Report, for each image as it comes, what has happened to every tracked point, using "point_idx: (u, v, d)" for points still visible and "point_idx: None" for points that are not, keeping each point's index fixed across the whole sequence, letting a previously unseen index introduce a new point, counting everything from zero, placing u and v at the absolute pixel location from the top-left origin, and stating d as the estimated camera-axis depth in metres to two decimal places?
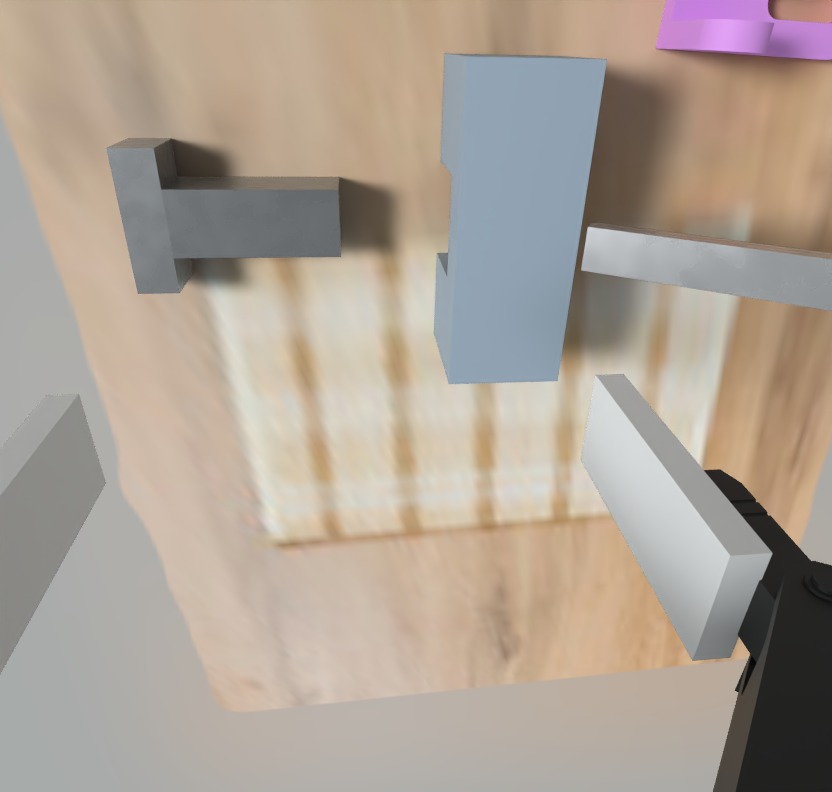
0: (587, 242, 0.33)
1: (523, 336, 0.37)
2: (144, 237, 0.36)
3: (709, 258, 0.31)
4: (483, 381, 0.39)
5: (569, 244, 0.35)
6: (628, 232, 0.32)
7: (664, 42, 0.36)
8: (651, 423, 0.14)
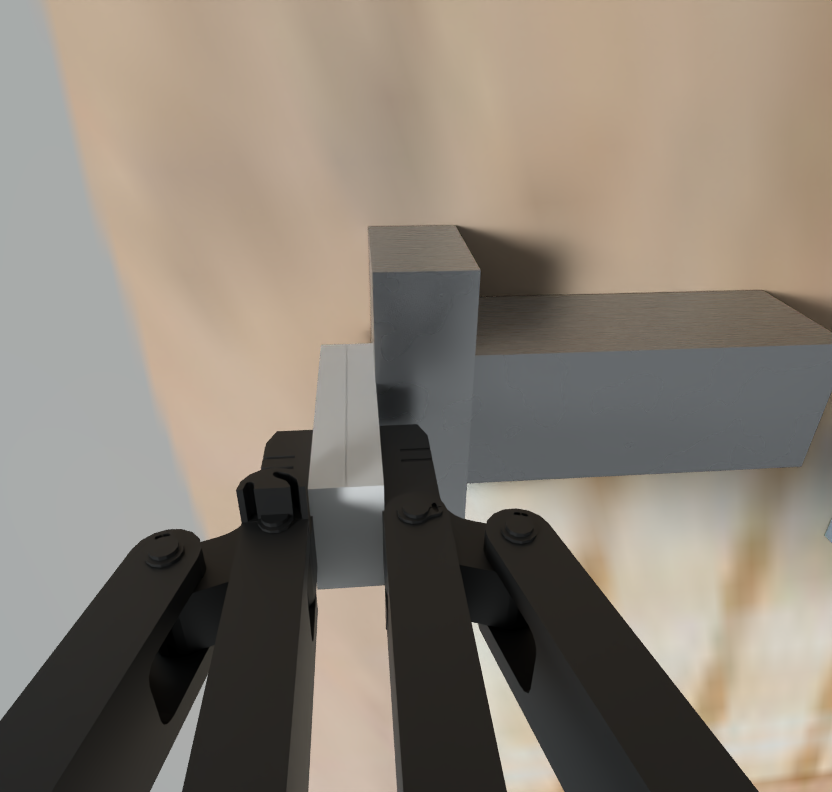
0: None
1: None
2: None
3: None
4: None
5: None
6: None
7: None
8: (363, 383, 0.15)
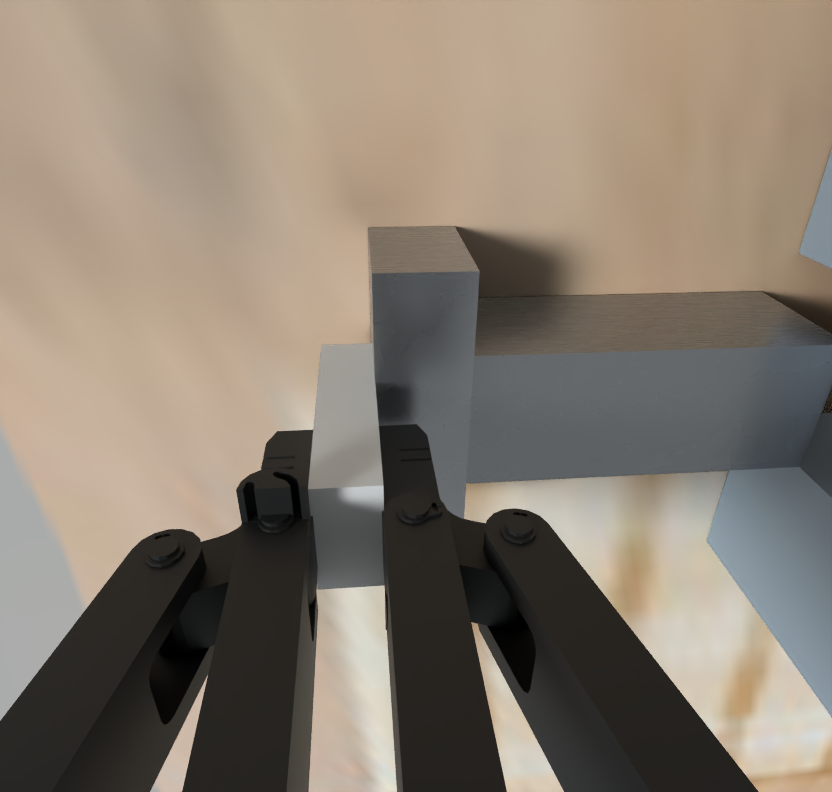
0: None
1: None
2: None
3: None
4: None
5: None
6: None
7: None
8: (363, 383, 0.15)
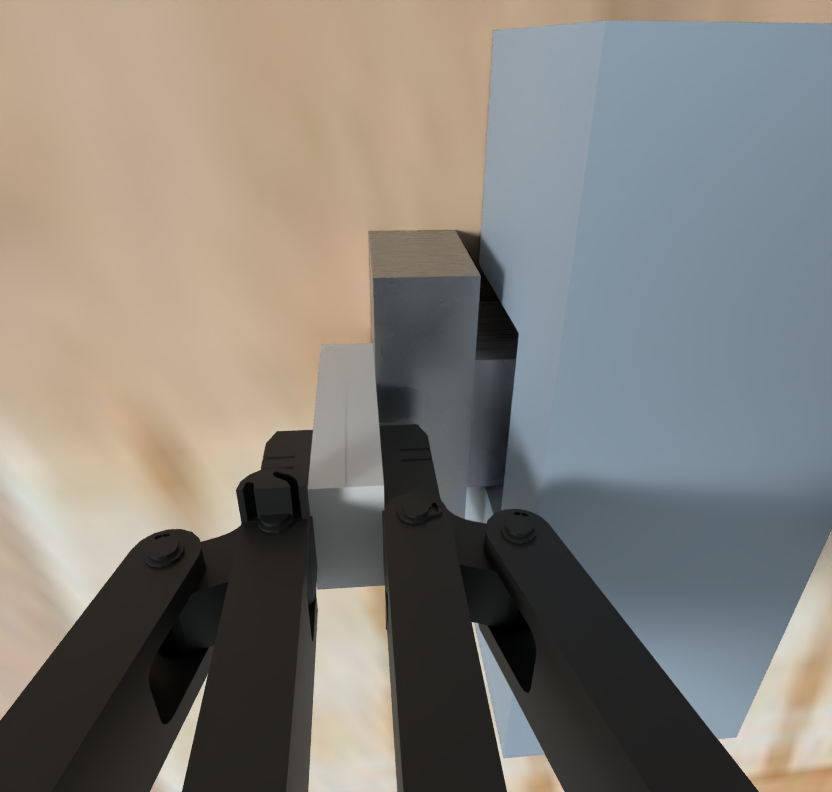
0: None
1: (676, 674, 0.16)
2: None
3: None
4: None
5: (818, 507, 0.14)
6: None
7: None
8: (363, 383, 0.15)
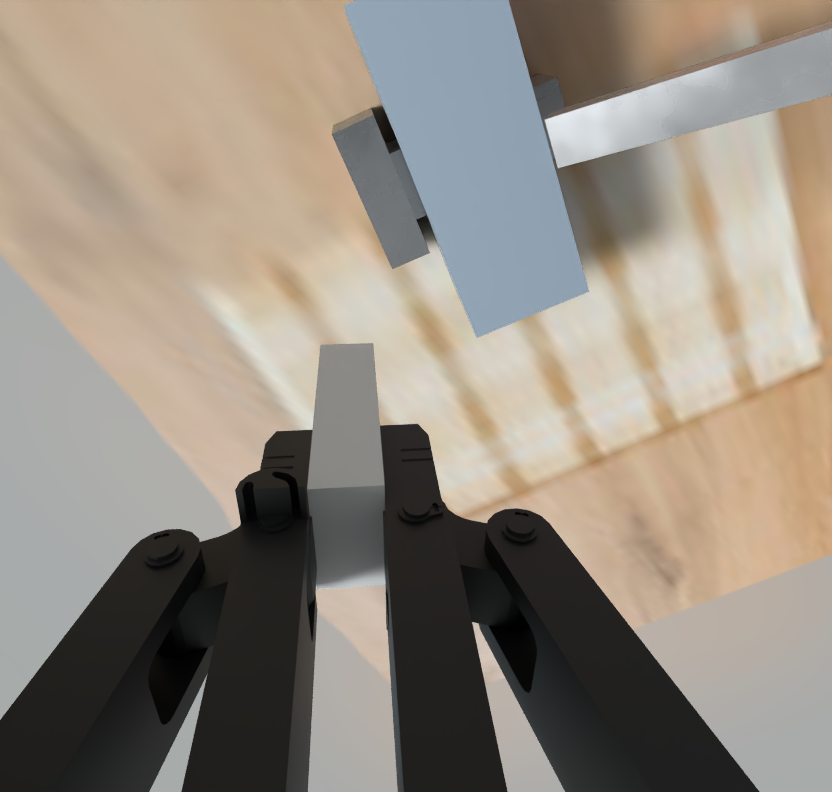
0: (551, 136, 0.30)
1: (531, 260, 0.34)
2: (385, 209, 0.36)
3: (686, 93, 0.26)
4: (510, 321, 0.36)
5: (537, 146, 0.31)
6: (588, 106, 0.28)
7: None
8: (364, 383, 0.15)
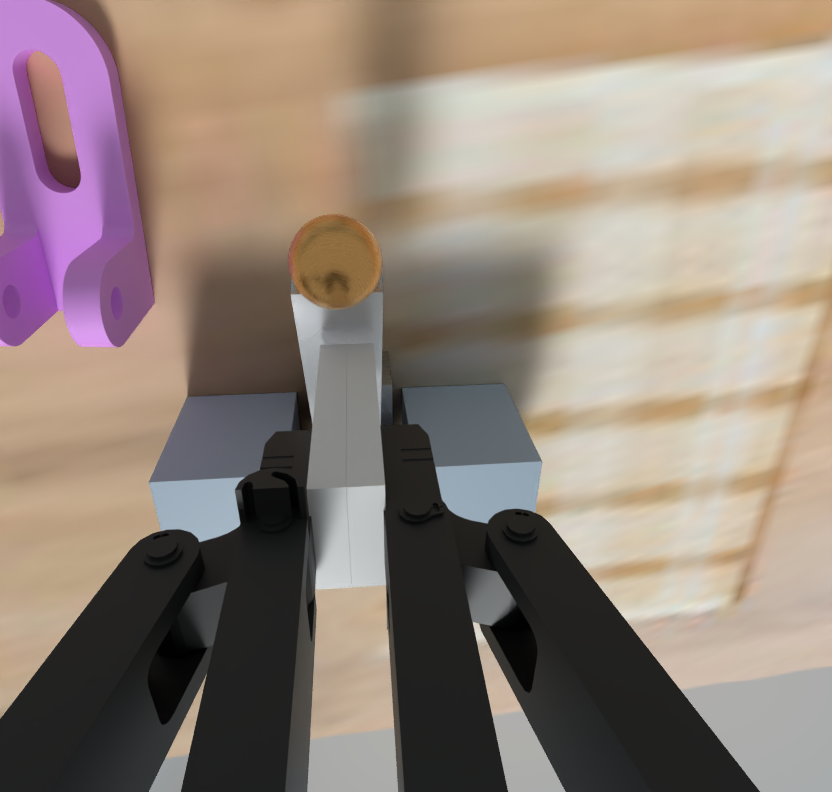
0: None
1: (472, 508, 0.30)
2: None
3: None
4: None
5: None
6: None
7: None
8: (364, 383, 0.15)
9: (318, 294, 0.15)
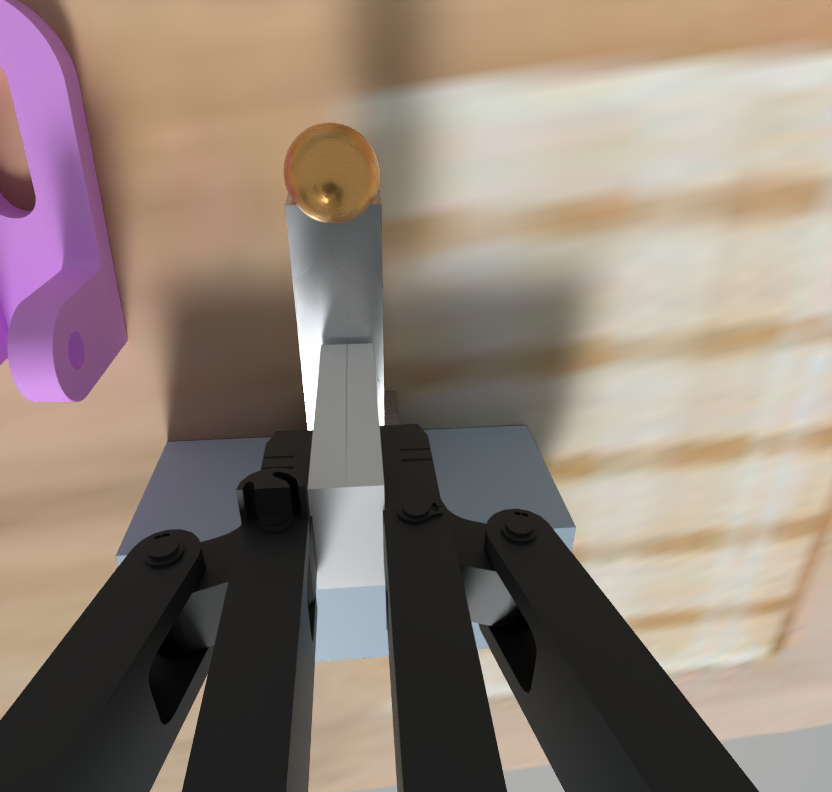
0: None
1: None
2: None
3: None
4: None
5: None
6: None
7: None
8: (364, 383, 0.15)
9: (313, 185, 0.14)
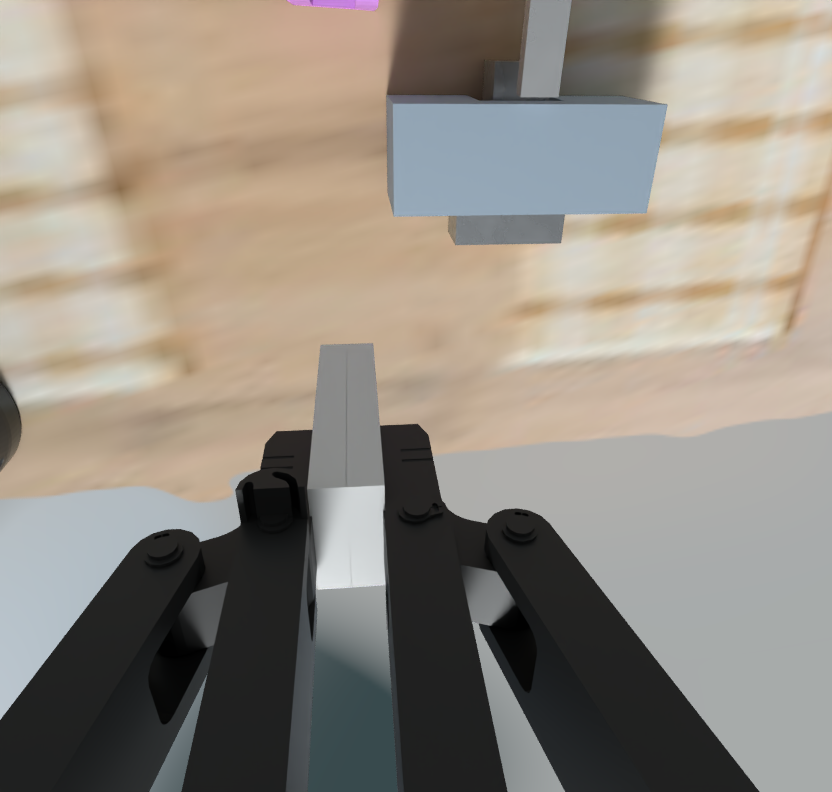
0: (533, 95, 0.38)
1: (613, 147, 0.41)
2: (519, 230, 0.47)
3: None
4: (651, 181, 0.42)
5: (535, 113, 0.40)
6: (524, 58, 0.37)
7: (370, 9, 0.42)
8: (364, 383, 0.15)
9: None
